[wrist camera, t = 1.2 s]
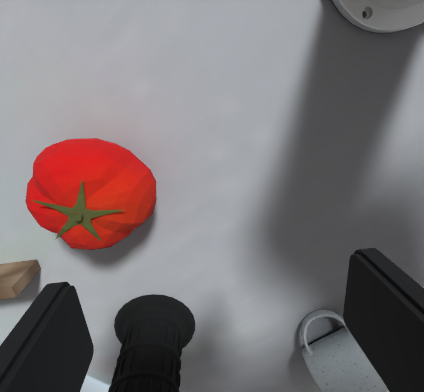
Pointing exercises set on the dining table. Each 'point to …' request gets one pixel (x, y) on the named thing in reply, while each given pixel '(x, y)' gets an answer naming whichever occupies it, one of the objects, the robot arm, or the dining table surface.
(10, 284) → the box
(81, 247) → the tomato
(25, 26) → the dining table surface
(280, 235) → the dining table surface
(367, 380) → the ceramic mug
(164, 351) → the handle grip
